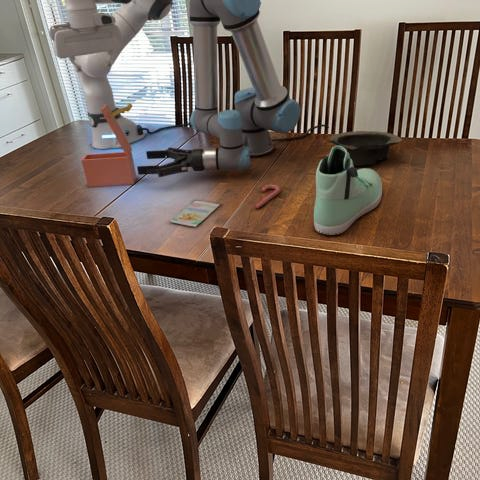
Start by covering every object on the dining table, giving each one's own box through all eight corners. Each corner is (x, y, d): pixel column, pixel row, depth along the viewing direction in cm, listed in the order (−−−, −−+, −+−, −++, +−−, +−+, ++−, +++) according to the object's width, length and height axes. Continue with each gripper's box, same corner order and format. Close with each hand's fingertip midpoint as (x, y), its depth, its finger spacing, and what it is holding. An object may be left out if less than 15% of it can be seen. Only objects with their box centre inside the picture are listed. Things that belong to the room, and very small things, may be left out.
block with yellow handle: (100, 109, 151) (123, 99, 149) (104, 105, 156) (127, 95, 154) (126, 156, 159) (149, 147, 158) (130, 150, 164) (151, 141, 162)
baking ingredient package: (169, 220, 138) (195, 199, 150) (169, 222, 139) (195, 200, 150) (195, 225, 135) (220, 203, 146) (195, 227, 135) (220, 205, 147)
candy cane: (241, 205, 145) (241, 201, 144) (268, 186, 155) (268, 182, 154) (258, 210, 142) (258, 205, 141) (284, 190, 152) (284, 185, 151)
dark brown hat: (359, 176, 156) (359, 149, 151) (314, 159, 176) (313, 134, 172) (416, 158, 164) (418, 131, 160) (367, 143, 185) (368, 119, 180)
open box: (88, 187, 165) (81, 160, 160) (92, 180, 170) (85, 154, 165) (133, 184, 165) (128, 157, 159) (136, 177, 169) (131, 151, 164)
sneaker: (389, 187, 148) (396, 123, 138) (356, 242, 123) (361, 168, 112) (346, 181, 154) (350, 119, 144) (306, 232, 129) (307, 161, 118)
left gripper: (49, 25, 134) (62, 76, 141) (120, 16, 142) (128, 65, 149) (45, 24, 138) (57, 73, 146) (113, 15, 147) (122, 62, 154)
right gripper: (201, 185, 153) (136, 188, 155) (209, 156, 174) (152, 159, 176) (198, 163, 149) (131, 166, 151) (207, 136, 170) (148, 139, 172)
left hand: (94, 69), depth 147 cm, fingers open, 8 cm apart
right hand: (142, 162), depth 163 cm, fingers open, 13 cm apart
